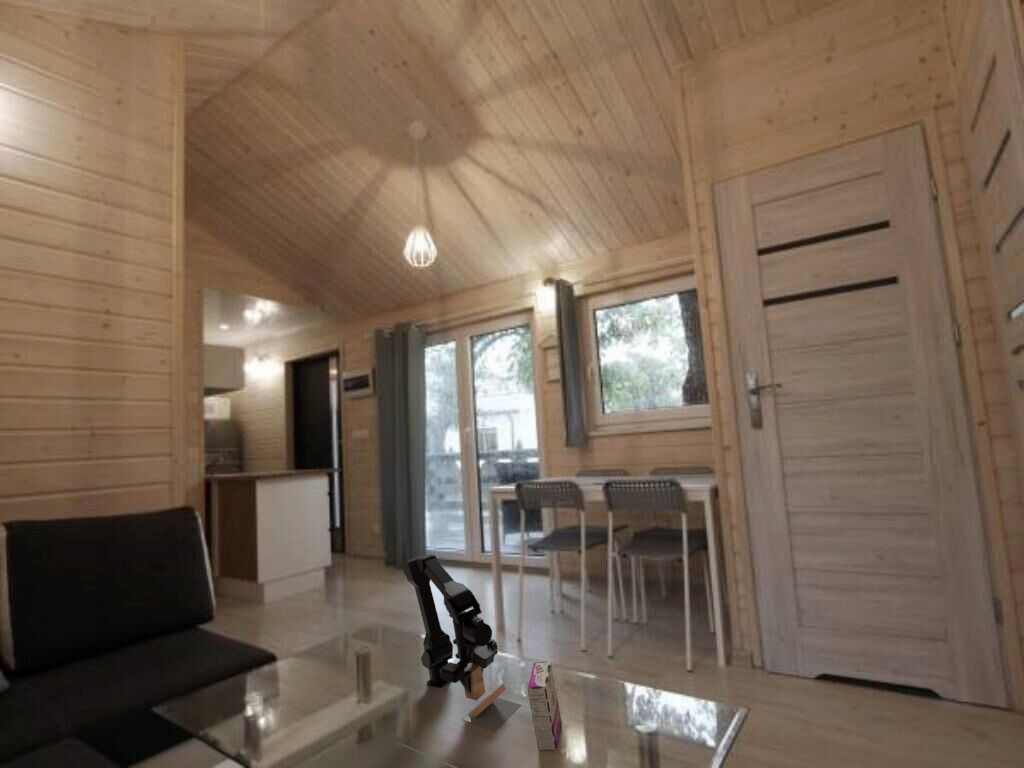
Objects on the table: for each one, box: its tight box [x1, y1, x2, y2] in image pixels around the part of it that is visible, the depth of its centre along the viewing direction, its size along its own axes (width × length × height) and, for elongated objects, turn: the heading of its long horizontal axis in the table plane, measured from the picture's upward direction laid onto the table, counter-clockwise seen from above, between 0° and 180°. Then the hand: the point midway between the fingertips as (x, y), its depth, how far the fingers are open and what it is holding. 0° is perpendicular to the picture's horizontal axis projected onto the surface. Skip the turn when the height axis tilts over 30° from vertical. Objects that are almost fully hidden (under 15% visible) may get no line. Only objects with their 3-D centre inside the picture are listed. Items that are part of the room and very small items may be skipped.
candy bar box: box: [526, 661, 562, 752], centre depth 140 cm, size 11×5×16 cm, turn 168°
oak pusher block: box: [463, 663, 486, 702], centre depth 156 cm, size 4×4×8 cm
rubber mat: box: [467, 694, 522, 733], centre depth 153 cm, size 12×12×1 cm
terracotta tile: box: [470, 683, 507, 718], centre depth 154 cm, size 2×8×8 cm
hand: (474, 687), depth 156 cm, fingers closed on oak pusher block, 4 cm apart
